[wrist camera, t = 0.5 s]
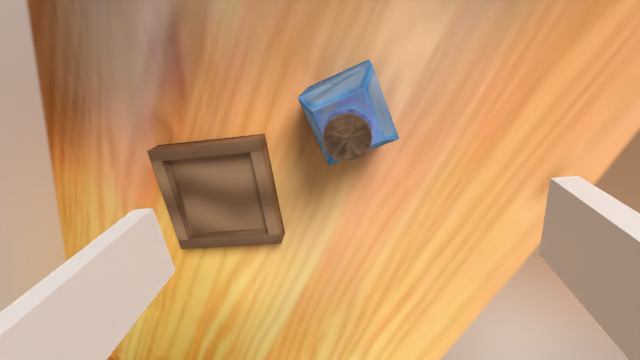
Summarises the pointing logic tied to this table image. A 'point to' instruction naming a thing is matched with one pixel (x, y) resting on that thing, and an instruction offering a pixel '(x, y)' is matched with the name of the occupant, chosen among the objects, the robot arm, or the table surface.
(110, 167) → the table surface
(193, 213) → the walnut tray
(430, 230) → the table surface
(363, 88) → the perfume bottle
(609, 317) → the robot arm
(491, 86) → the table surface
